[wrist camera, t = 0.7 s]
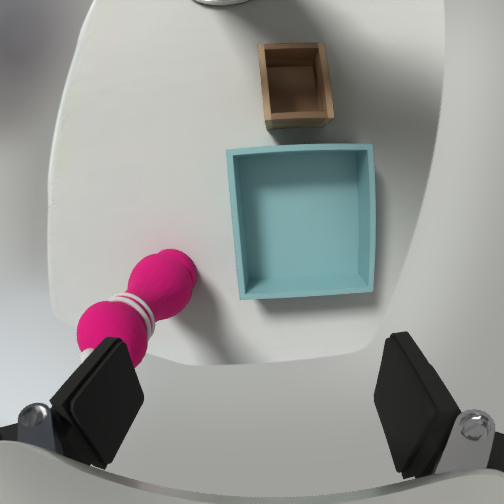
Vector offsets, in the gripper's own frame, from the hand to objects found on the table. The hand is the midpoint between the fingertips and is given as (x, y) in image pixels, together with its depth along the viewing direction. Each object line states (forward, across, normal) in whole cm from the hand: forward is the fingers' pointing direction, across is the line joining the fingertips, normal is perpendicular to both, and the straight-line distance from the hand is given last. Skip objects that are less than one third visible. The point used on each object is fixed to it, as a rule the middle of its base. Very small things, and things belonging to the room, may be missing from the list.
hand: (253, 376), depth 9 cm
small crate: (+25, -4, -15) cm, 30 cm away
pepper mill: (+25, +12, +5) cm, 28 cm away
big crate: (+25, -4, -1) cm, 25 cm away
